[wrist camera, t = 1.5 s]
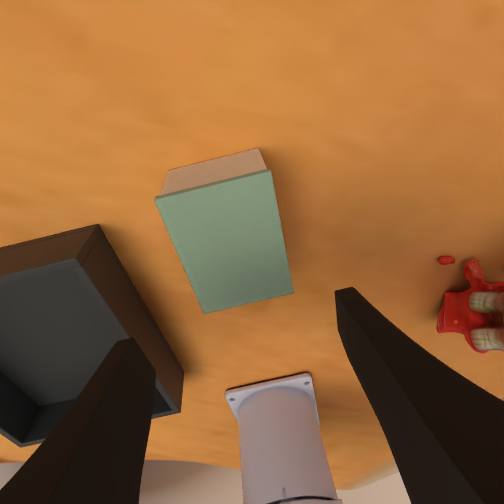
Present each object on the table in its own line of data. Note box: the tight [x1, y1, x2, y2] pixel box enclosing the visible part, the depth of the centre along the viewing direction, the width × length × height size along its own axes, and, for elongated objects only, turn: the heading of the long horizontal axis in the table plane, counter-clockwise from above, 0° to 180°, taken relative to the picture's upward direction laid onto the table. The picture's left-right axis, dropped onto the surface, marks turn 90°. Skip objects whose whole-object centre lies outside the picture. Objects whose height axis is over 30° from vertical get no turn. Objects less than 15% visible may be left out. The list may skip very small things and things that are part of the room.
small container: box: [154, 148, 294, 314], centre depth 17 cm, size 7×5×4 cm
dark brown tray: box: [0, 224, 184, 447], centre depth 21 cm, size 15×13×4 cm
